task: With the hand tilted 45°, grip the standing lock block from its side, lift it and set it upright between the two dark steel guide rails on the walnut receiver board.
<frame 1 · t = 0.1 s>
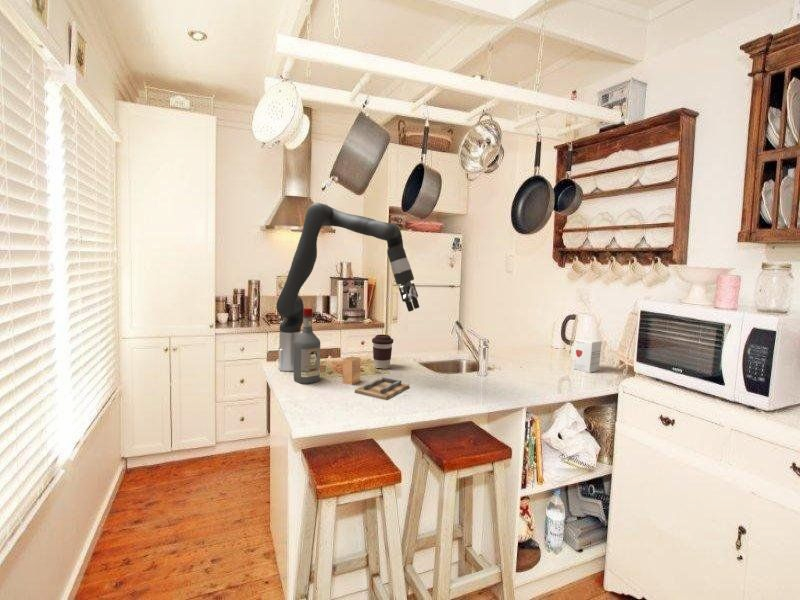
hand: (414, 309, 178), 31 cm above the worktop, tool tilted 20°, fingers open, 8 cm apart
lock block: (351, 382, 183), on the worktop
coffee cup: (381, 367, 207), on the worktop
liquor: (306, 380, 183), on the worktop
receiver board: (382, 389, 175), on the worktop
supplement box: (585, 370, 218), on the worktop
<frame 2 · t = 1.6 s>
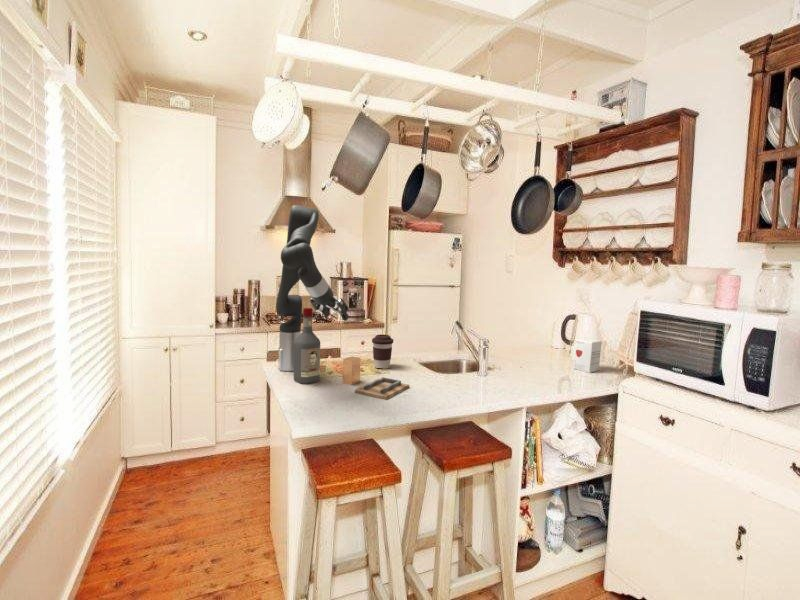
hand: (336, 316, 170), 29 cm above the worktop, tool tilted 45°, fingers open, 8 cm apart
nothing on the worktop moved.
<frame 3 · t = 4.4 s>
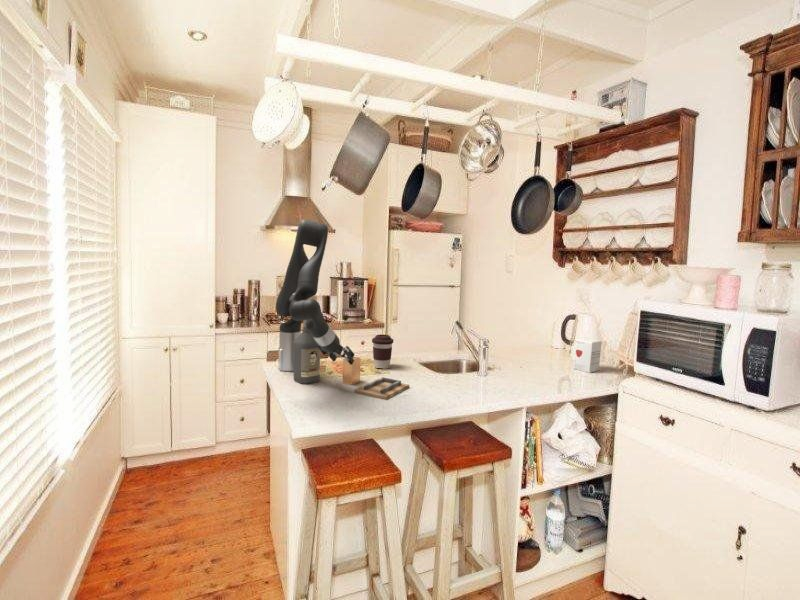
hand: (343, 361, 177), 10 cm above the worktop, tool tilted 45°, fingers open, 8 cm apart
nothing on the worktop moved.
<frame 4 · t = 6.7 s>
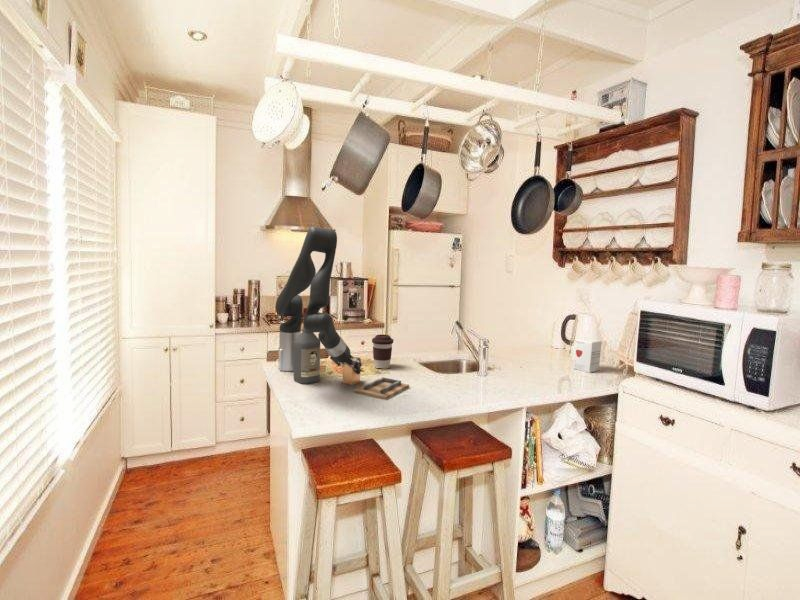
hand: (354, 371, 184), 4 cm above the worktop, tool tilted 45°, fingers closed on lock block, 4 cm apart
lock block: (351, 382, 183), on the worktop, touching gripper
everything else where it was.
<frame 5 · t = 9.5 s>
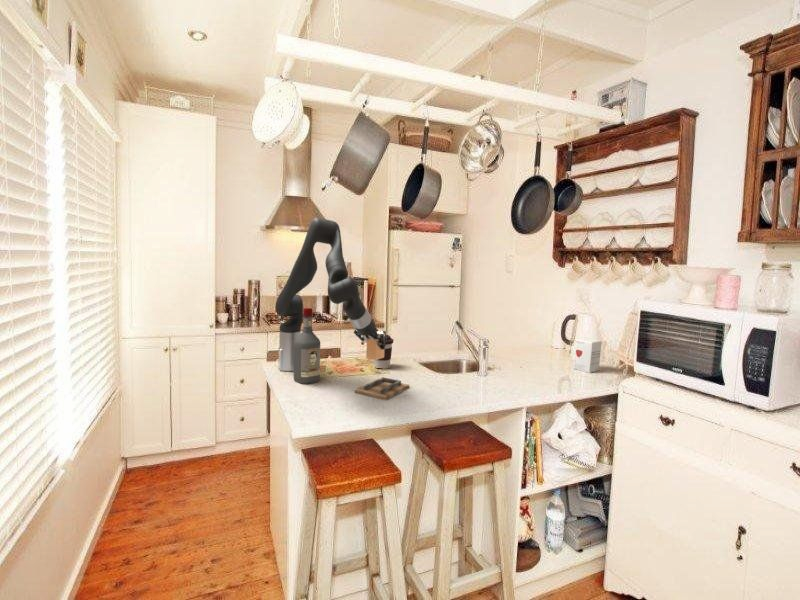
hand: (378, 346, 176), 17 cm above the worktop, tool tilted 45°, fingers closed on lock block, 4 cm apart
lock block: (375, 357, 175), point 12 cm above the worktop, touching gripper
everything else where it was.
when the fingers open (6 cm above the worktop, at t = 12.1 s): lock block drops 1 cm, resting on receiver board.
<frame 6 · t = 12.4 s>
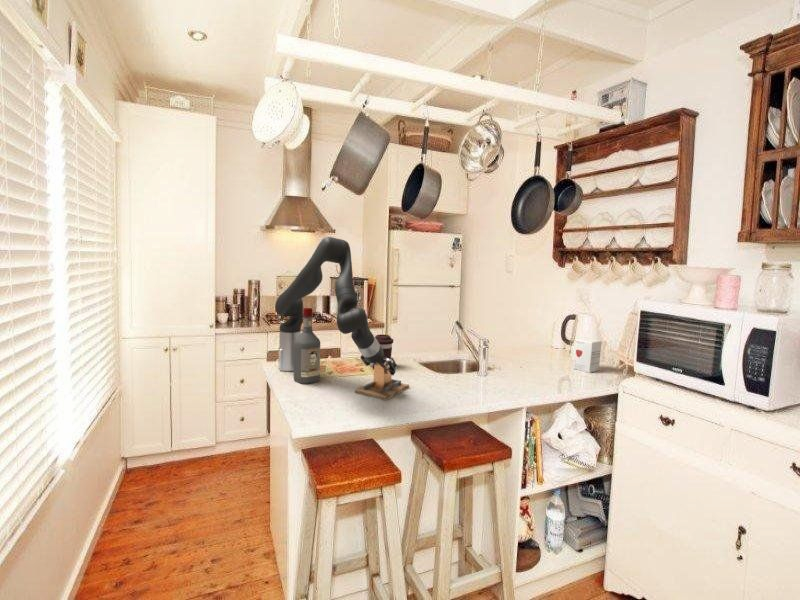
hand: (385, 371, 175), 7 cm above the worktop, tool tilted 45°, fingers open, 7 cm apart
lock block: (382, 387, 174), point 1 cm above the worktop, touching receiver board
everything else where it was.
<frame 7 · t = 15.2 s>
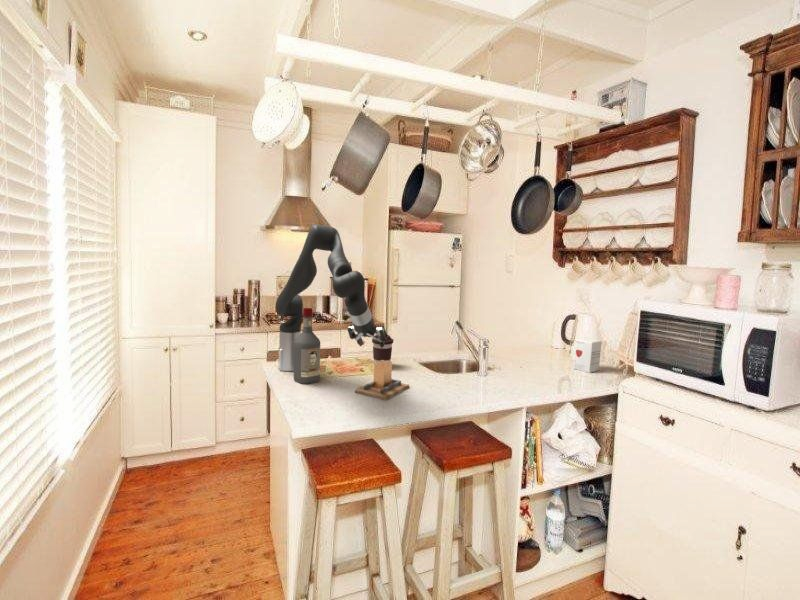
hand: (371, 344, 169), 19 cm above the worktop, tool tilted 40°, fingers open, 8 cm apart
nothing on the worktop moved.
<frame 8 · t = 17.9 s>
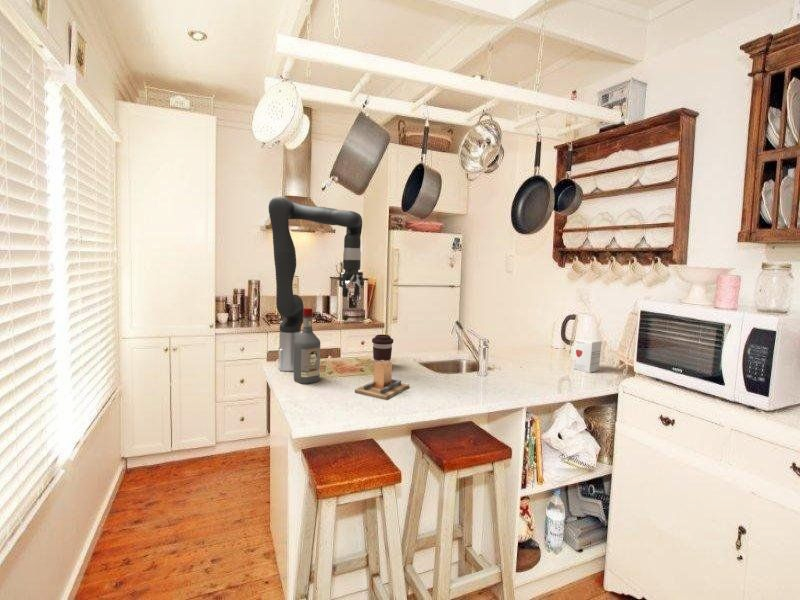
hand: (350, 296, 193), 34 cm above the worktop, tool pointing down, fingers open, 8 cm apart
nothing on the worktop moved.
at the end: lock block 0.2 cm off-centre on the receiver board, point 1.2 cm above the receiver board's base; lock block tilted 0°; the gripper is holding nothing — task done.
